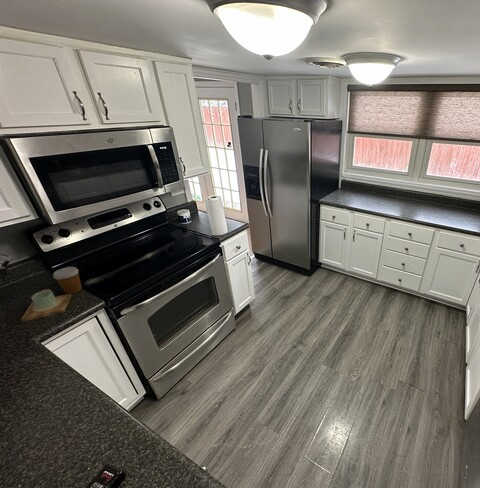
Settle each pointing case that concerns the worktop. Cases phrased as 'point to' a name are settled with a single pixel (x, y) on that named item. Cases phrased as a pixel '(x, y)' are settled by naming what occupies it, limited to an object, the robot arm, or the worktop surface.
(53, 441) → the worktop surface
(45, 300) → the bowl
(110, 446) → the worktop surface
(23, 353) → the worktop surface
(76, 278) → the disposable coffee cup
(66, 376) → the worktop surface
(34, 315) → the base
